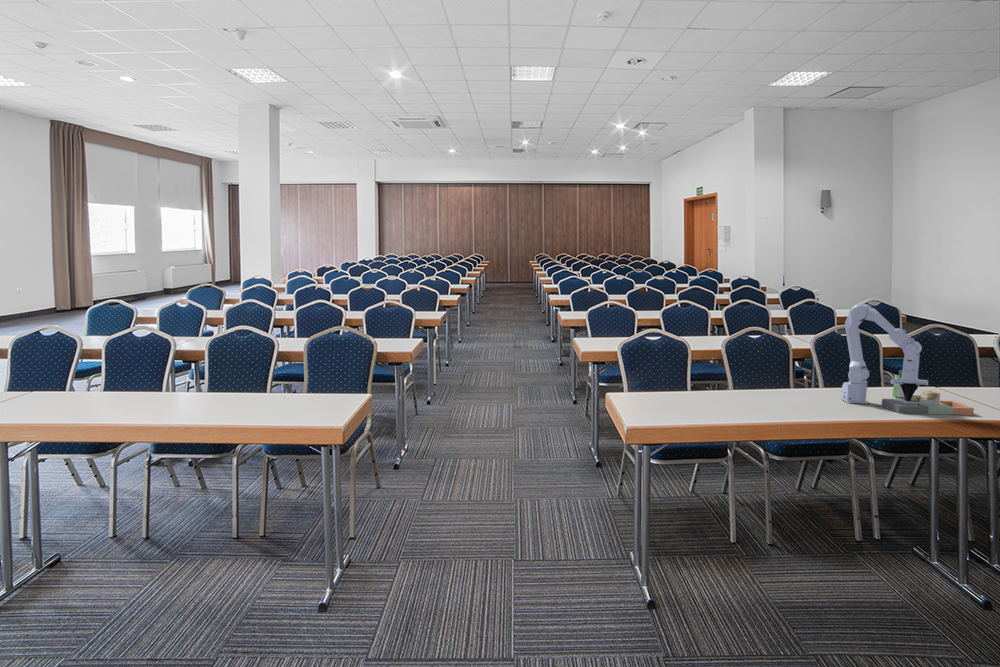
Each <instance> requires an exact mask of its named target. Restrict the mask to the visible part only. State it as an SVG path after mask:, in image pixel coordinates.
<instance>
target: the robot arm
mask: <svg viewBox="0 0 1000 667" xmlns="http://www.w3.org/2000/svg"><path fill="white" fill-rule="evenodd" d="M865 320H866V321H870V322H874V323H875V324H877V325H878V326H879V327H880V328H882V329H883V330H884V331H885V332H887V334H888V338H889V339H890V340H891V341H892V342H893V343H894V344H896V345H897V346H898V347H899V349H902V352H903V354H904V355H903V360H902V361H903V362H902V363H903V364H902V370H903V371H902V379H894V378H891V379H890V384H891V385H894V384H900V386H901V388H902V390H903V394H904V398H903V399H905V401H911V398H912V396H913V395H915V394H914V393H916V391H917V390H918V389H919V385H920V386H921V385H923V386H924V385H925V386H929V380H928V379H919V368H920V353H921V352H922V349H923V348H922V345H921V344H920V342H919V341H917V340H916V341H915V338H914V337H911V336H909V334H907V333H906V332H907V331H906V330H905V329H901V328H896V327H895V326H894V325H892V324H891V323H890V322H889V320H887V319H886V318H885V317H884V316H883V315H882V314H881V313H880V312H879V311H878V310H877V309H876V308H873V306H872V305H870V304H869V303H863V304H856V305H855V306H853V307H852V308H851V309H850V310H849V313H848V316H847V317H846V320H845V321H844V329H845V334H846V341H847V347H848V348H847V349H848V353H849V359H850V363H849V365H848V367H849V368H848V369H849V371H848V373H847V375H848V381H847V382H845V381H844V382H843V383H842V386H841V387H842V388H841V397H840V400H841V399H842V400H841V401H843V400H844V402H845V401H846V402H845V403H847V404H868V403H869V404H871V403H870V402H869V401H867V392H868V391H867V390H868V381H867V379H869V377H870V370H869V369H868V367H867V364H866V362H865V361H864V357H863V356H864V355H863V349H862V343H861V337H860V330H859V326H860V325H861V323H863V321H865Z"/></svg>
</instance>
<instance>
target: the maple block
mask: <svg viewBox="0 0 1000 667" xmlns="http://www.w3.org/2000/svg"><path fill="white" fill-rule="evenodd" d="M920 395H921V399H932V400H939V401H940V399H941V398H940V397H941V393H940V392H937V391H934V390H921V392H920ZM939 401H938V405H939Z"/></svg>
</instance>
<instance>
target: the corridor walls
mask: <svg viewBox="0 0 1000 667" xmlns="http://www.w3.org/2000/svg"><path fill="white" fill-rule="evenodd" d="M911 401H918V405H919V406H938V401H939V400H932V399H921V394H919V395H918V394H913V396H912V398H911Z"/></svg>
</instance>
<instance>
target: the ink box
mask: <svg viewBox="0 0 1000 667" xmlns="http://www.w3.org/2000/svg"><path fill="white" fill-rule="evenodd" d="M902 371H903V369H899V371H898V375H894V378H893V379H902ZM893 396H895V397H904V394H903V390H902V388H901V386H900V384H893V387H892V397H893ZM895 397H894V398H895Z"/></svg>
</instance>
